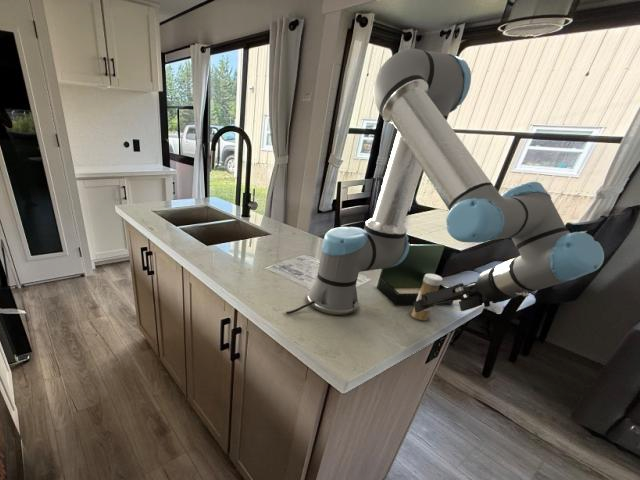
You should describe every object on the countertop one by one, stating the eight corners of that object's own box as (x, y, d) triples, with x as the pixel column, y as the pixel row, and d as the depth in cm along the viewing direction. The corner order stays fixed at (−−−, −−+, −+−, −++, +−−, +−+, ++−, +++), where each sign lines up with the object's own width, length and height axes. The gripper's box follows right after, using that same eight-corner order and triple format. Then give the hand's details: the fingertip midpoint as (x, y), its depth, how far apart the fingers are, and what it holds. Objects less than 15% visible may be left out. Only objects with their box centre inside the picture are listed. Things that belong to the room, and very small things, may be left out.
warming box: (395, 305, 103) (410, 258, 96) (376, 287, 114) (388, 244, 107) (451, 304, 106) (470, 258, 98) (428, 287, 117) (443, 244, 109)
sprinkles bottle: (420, 322, 95) (435, 280, 89) (407, 314, 99) (421, 274, 92) (430, 319, 97) (446, 278, 90) (417, 311, 100) (432, 272, 94)
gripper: (457, 298, 67) (398, 321, 87) (564, 296, 70) (483, 319, 90) (449, 264, 69) (393, 294, 89) (553, 264, 72) (476, 293, 92)
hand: (438, 306), depth 90 cm, fingers open, 13 cm apart
